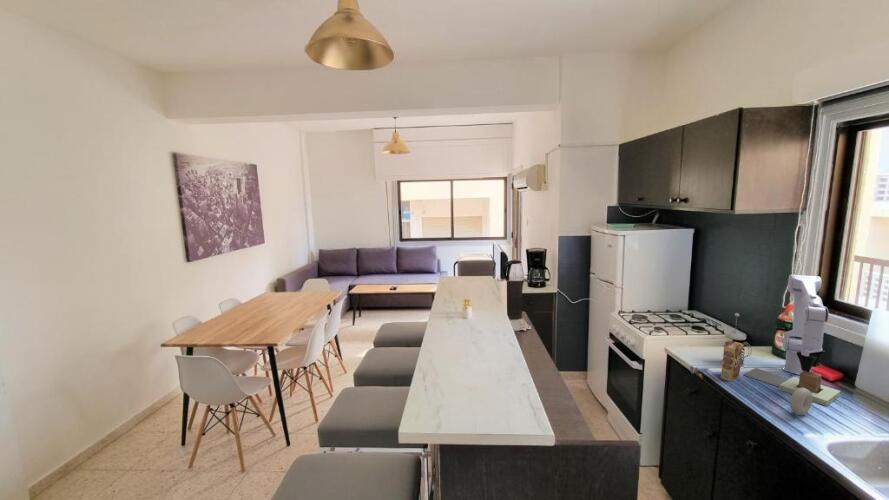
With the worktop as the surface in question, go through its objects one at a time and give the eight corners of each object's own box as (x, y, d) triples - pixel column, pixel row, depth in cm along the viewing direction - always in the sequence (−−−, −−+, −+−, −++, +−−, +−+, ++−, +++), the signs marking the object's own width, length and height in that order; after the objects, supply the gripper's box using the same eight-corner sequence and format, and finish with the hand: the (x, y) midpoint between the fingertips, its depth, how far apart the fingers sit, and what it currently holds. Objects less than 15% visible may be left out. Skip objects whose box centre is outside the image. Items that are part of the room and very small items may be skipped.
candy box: (732, 382, 154) (735, 348, 152) (720, 378, 158) (723, 345, 156) (740, 376, 159) (743, 343, 157) (728, 372, 163) (731, 340, 161)
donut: (798, 420, 127) (801, 393, 126) (786, 414, 131) (789, 389, 129) (812, 412, 131) (816, 387, 130) (800, 408, 135) (803, 383, 133)
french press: (728, 357, 177) (732, 309, 174) (755, 367, 167) (760, 316, 163) (715, 361, 174) (719, 311, 171) (741, 371, 163) (746, 319, 160)
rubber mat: (755, 368, 166) (756, 367, 166) (790, 379, 155) (790, 378, 155) (743, 375, 160) (743, 374, 160) (777, 387, 149) (778, 386, 149)
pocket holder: (793, 380, 154) (793, 376, 154) (839, 395, 142) (840, 390, 142) (778, 389, 148) (779, 384, 147) (826, 405, 135) (827, 401, 135)
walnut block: (803, 388, 148) (805, 370, 147) (819, 393, 144) (822, 375, 143) (798, 391, 146) (800, 373, 145) (814, 397, 141) (817, 378, 140)
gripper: (805, 329, 149) (801, 360, 151) (792, 337, 142) (788, 369, 144) (829, 334, 143) (825, 366, 145) (817, 342, 136) (813, 376, 138)
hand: (808, 368), depth 144 cm, fingers open, 7 cm apart
